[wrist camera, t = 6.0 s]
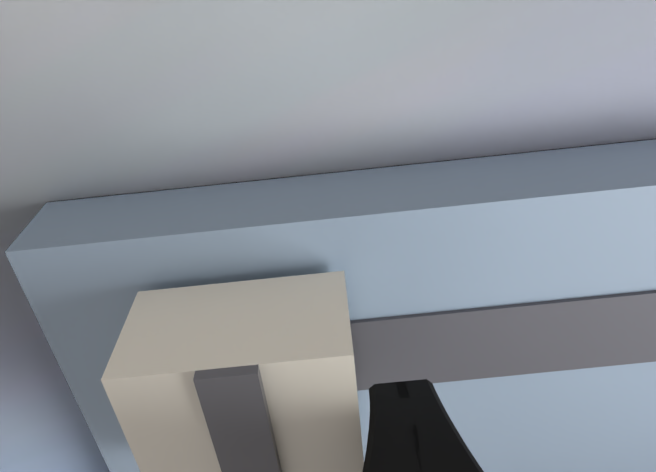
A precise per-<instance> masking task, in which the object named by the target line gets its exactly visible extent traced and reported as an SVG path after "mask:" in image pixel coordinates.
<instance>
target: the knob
mask: <svg viewBox="0 0 656 472" xmlns="http://www.w3.org/2000/svg"><path fill="white" fill-rule="evenodd" d="M101 382H102V384H103V387H104V389H105V391H106V393H107V396H108V398H109V400H110V403H111V405H112V407H113V410H114V412H115V414H116V417H117V419H118V421H119V423H120V426H121V428H122V430H123V433H124V435H125V437H126V440H127V442H128V444H129V447H130V449H131V451H132V453H133V456H134V458H135V460H136V463H137V465H138V467H139V470H140V472H363V466H364V457H363V446H362V436H361V425H360V415H359V404H358V394H357V383H356V373H355V362H354V352H353V344H352V335H351V326H350V317H349V309H348V300H347V291H346V282H345V274H344V271H336V272H326V273H316V274H307V275H297V276H287V277H277V278H267V279H257V280H247V281H237V282H228V283H218V284H208V285H198V286H188V287H178V288H168V289H158V290H149V291H139V292H137V295H136V297H135V299H134V302H133V304H132V307H131V309H130V311H129V314H128V316H127V319H126V321H125V323H124V326H123V328H122V330H121V333H120V335H119V338H118V340H117V342H116V345H115V347H114V350H113V352H112V354H111V357H110V359H109V361H108V364H107V366H106V369H105V371H104V373H103V376H102V378H101Z"/></svg>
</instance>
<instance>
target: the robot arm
mask: <svg viewBox="0 0 656 472" xmlns="http://www.w3.org/2000/svg"><path fill="white" fill-rule="evenodd" d="M369 399H370V418H369V431H368V439H367V448H366V454H365V460H364V466H363V472H484V471H483V470H482V468H481V467H480V465H479V464H478V462H477V461H476V459H475V458H474V456H473V455H472V453H471V452H470V450H469V449H468V447H467V445H466V444H465V442H464V441H463V439H462V437H461V436H460V434H459V432H458V431H457V429H456V427H455V426H454V424H453V422H452V421H451V419H450V417H449V415H448V414H447V412H446V410H445V408H444V406H443V404H442V402H441V400H440V398H439V396H438V394H437V392H436V390H435V388H434V386H433V383H431V382H430V381H429V380H427V379H422V380H412V381H401V382H390V383H379V384H374V385H373V386H371V387H370V388H369Z"/></svg>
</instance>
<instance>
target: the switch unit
mask: <svg viewBox="0 0 656 472" xmlns="http://www.w3.org/2000/svg"><path fill="white" fill-rule="evenodd" d="M5 254H6V256H7V258H8V260H9V262H10V264H11V266H12V269H13V271H14V273H15V275H16V277H17V279H18V281H19V283H20V285H21V287H22V289H23V291H24V294H25V296H26V298H27V300H28V302H29V304H30V306H31V308H32V310H33V312H34V314H35V317H36V319H37V321H38V323H39V325H40V327H41V329H42V331H43V333H44V335H45V337H46V339H47V342H48V344H49V346H50V348H51V350H52V352H53V354H54V356H55V358H56V360H57V362H58V365H59V367H60V369H61V371H62V373H63V375H64V377H65V379H66V381H67V383H68V385H69V387H70V390H71V392H72V394H73V396H74V398H75V400H76V402H77V404H78V406H79V408H80V410H81V413H82V415H83V417H84V419H85V421H86V423H87V425H88V427H89V429H90V431H91V433H92V435H93V438H94V440H95V442H96V444H97V446H98V448H99V450H100V452H101V454H102V456H103V458H104V461H105V463H106V465H107V467H108V469H109V471H110V472H140V470H139V467H138V465H137V463H136V460H135V458H134V456H133V453H132V451H131V449H130V447H129V444H128V442H127V440H126V437H125V435H124V433H123V430H122V428H121V426H120V423H119V421H118V419H117V417H116V414H115V412H114V410H113V407H112V405H111V403H110V400H109V398H108V396H107V393H106V391H105V389H104V387H103V384H102V382H101V378H102V376H103V373H104V371H105V369H106V366H107V364H108V361H109V359H110V357H111V354H112V352H113V350H114V347H115V345H116V342H117V340H118V338H119V335H120V333H121V330H122V328H123V326H124V323H125V321H126V319H127V316H128V314H129V311H130V309H131V307H132V304H133V302H134V299H135V297H136V295H137V292H139V291H149V290H158V289H168V288H178V287H188V286H198V285H208V284H218V283H228V282H237V281H247V280H257V279H267V278H277V277H287V276H297V275H307V274H316V273H326V272H336V271H344V274H345V282H346V291H347V300H348V309H349V317H350V326H351V335H352V344H353V352H354V362H355V373H356V383H357V394H358V404H359V415H360V425H361V436H362V446H363V457H364V460H365V454H366V448H367V439H368V431H369V418H370V399H369V388H370V387H371V386H373V385H374V384H379V383H390V382H401V381H412V380H422V379H427V380H429V381H430V382H431V383H433V386H434V388H435V390H436V392H437V394H438V396H439V398H440V400H441V402H442V404H443V406H444V408H445V410H446V412H447V414H448V415H449V417H450V419H451V421H452V422H453V424H454V426H455V427H456V429H457V431H458V432H459V434H460V436H461V437H462V439H463V441H464V442H465V444H466V445H467V447H468V449H469V450H470V452H471V453H472V455H473V456H474V458H475V459H476V461H477V462H478V464H479V465H480V467H481V468H482V470H483V471H484V472H656V139H654V140H645V141H635V142H625V143H616V144H606V145H597V146H587V147H577V148H568V149H558V150H548V151H539V152H529V153H520V154H510V155H500V156H491V157H481V158H471V159H462V160H452V161H443V162H433V163H423V164H414V165H404V166H394V167H385V168H375V169H366V170H356V171H346V172H337V173H327V174H317V175H308V176H298V177H289V178H279V179H269V180H260V181H250V182H240V183H231V184H221V185H212V186H202V187H192V188H183V189H173V190H163V191H154V192H144V193H135V194H125V195H115V196H106V197H96V198H86V199H77V200H67V201H57V202H48V203H46V204H45V205H44V206H43V207H42V209H41V210H40V211H39V212H38V213H37V215H36V216H35V217H34V218H33V219H32V220H31V222H30V223H29V224H28V225H27V226H26V228H25V229H24V230H23V231H22V232H21V233H20V235H19V236H18V237H17V238H16V239H15V241H14V242H13V243H12V244H11V245H10V246H9V248H8V249H7V250H6V251H5Z"/></svg>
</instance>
